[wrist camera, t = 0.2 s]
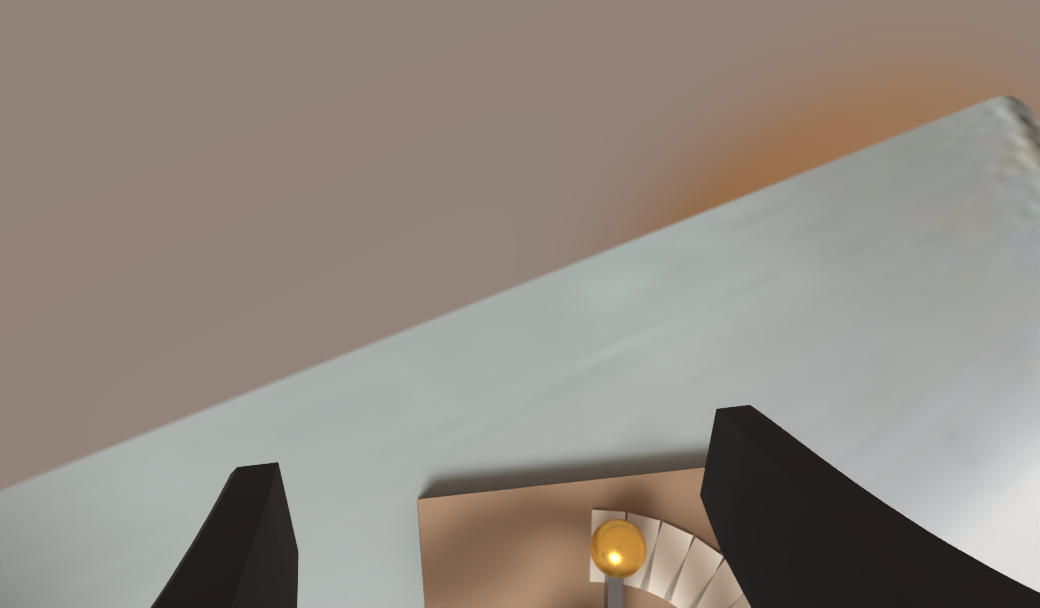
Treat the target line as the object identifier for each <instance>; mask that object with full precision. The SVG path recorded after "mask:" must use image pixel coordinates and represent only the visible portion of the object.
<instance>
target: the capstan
mask: <svg viewBox="0 0 1040 608" xmlns="http://www.w3.org/2000/svg"><path fill="white" fill-rule="evenodd" d="M590 552H591V557H592V559H593V561H594V563H595V565H596V566H597V568H598V569H599V570H600V571H601V572H603V573H604V574H605V580H604V608H623V578H627V577H630V576H632V575H634V574H635V573H637V572H638V571H639V570H640V569H641V567H642V566H643V564H644V562H645V560H646V556H647V544H646V540H645V537H644V535H643V533H642V532H641V530H640V529H639V528H638V527H637V526H636V525H634V524H633V523H631V522H629V521H627V520H624V519H611V520H608V521H606V522H604V523H602V524H601V525H600V526H599V527H598V528H597V529H596V530H595V532H594V533H593V535H592V538H591V542H590Z"/></svg>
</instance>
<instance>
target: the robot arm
mask: <svg viewBox="0 0 1040 608" xmlns="http://www.w3.org/2000/svg"><path fill="white" fill-rule="evenodd" d="M700 497H701V500H702V502H703V505H704V508H705V511H706V513H707V516H708V519H709V522H710V524H711V527H712V529H713V532H714V534H715V537H716V539H717V542H718V544H719V547H720V549H721V551H722V553H723V555H724V557H725V559H726V561H727V563H728V565H729V567H730V569H731V571H732V573H733V575H734V576H735V578H736V580H737V582H738V584H739V586H740V588H741V590H742V592H743V593H744V595H745V597H746V599H747V601H748V603H749V604H750V606H751V608H1040V593H1039V592H1037V591H1035V590H1033V589H1031V588H1029V587H1027V586H1025V585H1023V584H1021V583H1019V582H1017V581H1015V580H1013V579H1011V578H1009V577H1007V576H1005V575H1004V574H1002V573H1000V572H998V571H996V570H994V569H992V568H990V567H989V566H987V565H985V564H983V563H982V562H980V561H978V560H976V559H975V558H973V557H971V556H969V555H968V554H966V553H964V552H962V551H961V550H959V549H957V548H955V547H954V546H952V545H950V544H948V543H947V542H945V541H943V540H942V539H940V538H938V537H937V536H935V535H933V534H932V533H930V532H929V531H927V530H925V529H924V528H922V527H921V526H919V525H918V524H916V523H914V522H913V521H911V520H910V519H908V518H907V517H905V516H904V515H902V514H901V513H899V512H898V511H896V510H895V509H893V508H891V507H890V506H888V505H887V504H885V503H884V502H882V501H881V500H880V499H878V498H877V497H875V496H874V495H872V494H871V493H869V492H868V491H866V490H865V489H864V488H862V487H861V486H859V485H858V484H857V483H855V482H854V481H852V480H851V479H850V478H848V477H847V476H845V475H844V474H843V473H841V472H840V471H838V470H837V469H836V468H834V467H833V466H832V465H830V464H829V463H828V462H826V461H825V460H824V459H822V458H821V457H819V456H818V455H817V454H815V453H814V452H813V451H811V450H810V449H809V448H807V447H806V446H805V445H803V444H802V443H801V442H799V441H798V440H797V439H795V438H794V437H793V436H792V435H790V434H789V433H788V432H786V431H785V430H784V429H782V428H781V427H780V426H778V425H777V424H776V423H774V422H773V421H772V420H770V419H769V418H768V417H766V416H765V415H763V414H762V413H761V412H759V411H758V410H756V409H755V408H754V407H752V406H751V405H745V406H737V407H729V408H720V409H716V414H715V419H714V424H713V429H712V435H711V440H710V445H709V450H708V455H707V461H706V466H705V471H704V476H703V481H702V487H701V492H700ZM297 591H298V548H297V544H296V539H295V535H294V530H293V526H292V521H291V517H290V512H289V508H288V504H287V499H286V495H285V490H284V486H283V481H282V477H281V472H280V468H279V464H278V462H276V463H268V464H260V465H251V466H243V467H237V468H236V469H235V470H234V471H233V472H232V473H231V474H230V476H229V478H228V480H227V482H226V484H225V486H224V488H223V490H222V492H221V494H220V495H219V497H218V499H217V501H216V503H215V505H214V506H213V508H212V510H211V512H210V514H209V515H208V517H207V519H206V521H205V522H204V524H203V526H202V527H201V529H200V531H199V533H198V534H197V536H196V538H195V539H194V541H193V543H192V544H191V546H190V548H189V549H188V551H187V552H186V554H185V556H184V557H183V559H182V560H181V562H180V563H179V565H178V567H177V568H176V570H175V571H174V573H173V575H172V576H171V578H170V579H169V581H168V583H167V584H166V586H165V587H164V589H163V590H162V592H161V593H160V595H159V596H158V598H157V599H156V601H155V602H154V603H153V605H152V606H151V608H297Z"/></svg>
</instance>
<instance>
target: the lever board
mask: <svg viewBox="0 0 1040 608" xmlns="http://www.w3.org/2000/svg"><path fill="white" fill-rule="evenodd" d="M704 471H705V468H696V469H687V470H678V471H669V472H660V473H651V474H642V475H633V476H624V477H615V478H606V479H597V480H588V481H579V482H570V483H560V484H551V485H542V486H533V487H524V488H515V489H506V490H497V491H488V492H479V493H470V494H461V495H452V496H443V497H434V498H425V499H417V505H418V519H419V534H420V548H421V562H422V576H423V590H424V604H425V608H604V580H605V574H604V573H603V572H601V571H600V570H599V569H598V568H597V566H596V565H595V563H594V561H593V559H592V557H591V552H590V542H591V538H592V535H593V533H594V532H595V530H596V529H597V528H598V527H599V526H600V525H601V524H602V523H604V522H606V521H608V520H611V519H624V520H627V521H629V522H631V523H633V524H634V525H636V526H637V527H638V528H639V529H640V530H641V532H642V533H643V535H644V537H645V540H646V544H647V556H646V560H645V562H644V564H643V566H642V567H641V569H640V570H639V571H638V572H637V573H635V574H634V575H632V576H630V577H627V578H623V608H751V606H750V604H749V603H748V601H747V599H746V597H745V595H744V593H743V592H742V590H741V588H740V586H739V584H738V582H737V580H736V578H735V576H734V575H733V573H732V571H731V569H730V567H729V565H728V563H727V561H726V559H725V557H724V555H723V553H722V551H721V549H720V547H719V544H718V542H717V539H716V537H715V534H714V532H713V529H712V527H711V524H710V522H709V519H708V516H707V513H706V511H705V508H704V505H703V502H702V500H701V497H700V492H701V487H702V481H703V476H704Z"/></svg>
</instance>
